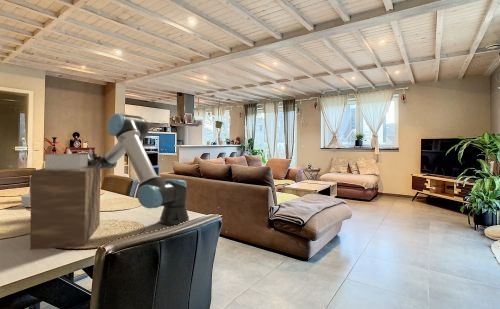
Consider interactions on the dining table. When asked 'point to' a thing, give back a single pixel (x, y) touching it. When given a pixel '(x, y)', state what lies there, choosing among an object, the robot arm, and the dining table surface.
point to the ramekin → (25, 200)
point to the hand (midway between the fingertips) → (79, 151)
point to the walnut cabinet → (64, 207)
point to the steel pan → (66, 161)
